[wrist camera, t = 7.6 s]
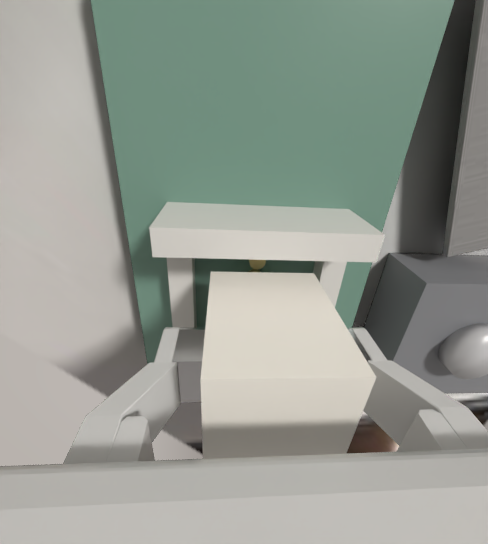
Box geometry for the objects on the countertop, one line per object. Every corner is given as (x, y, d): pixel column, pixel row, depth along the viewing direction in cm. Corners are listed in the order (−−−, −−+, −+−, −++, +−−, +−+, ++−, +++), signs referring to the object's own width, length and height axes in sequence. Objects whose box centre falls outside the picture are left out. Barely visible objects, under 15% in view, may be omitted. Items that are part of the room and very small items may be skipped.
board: (99, -37, 8) (4, -156, 5) (433, -1, 9) (567, -79, 6) (152, 347, 16) (131, 414, 12) (333, 347, 17) (363, 409, 13)
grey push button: (389, 253, 14) (440, 293, 11) (514, 256, 15) (599, 296, 11) (355, 353, 17) (385, 408, 14) (457, 352, 18) (510, 405, 15)
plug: (210, 271, 10) (200, 379, 6) (314, 273, 11) (376, 377, 6) (211, 359, 13) (203, 486, 8) (297, 358, 13) (335, 481, 8)
